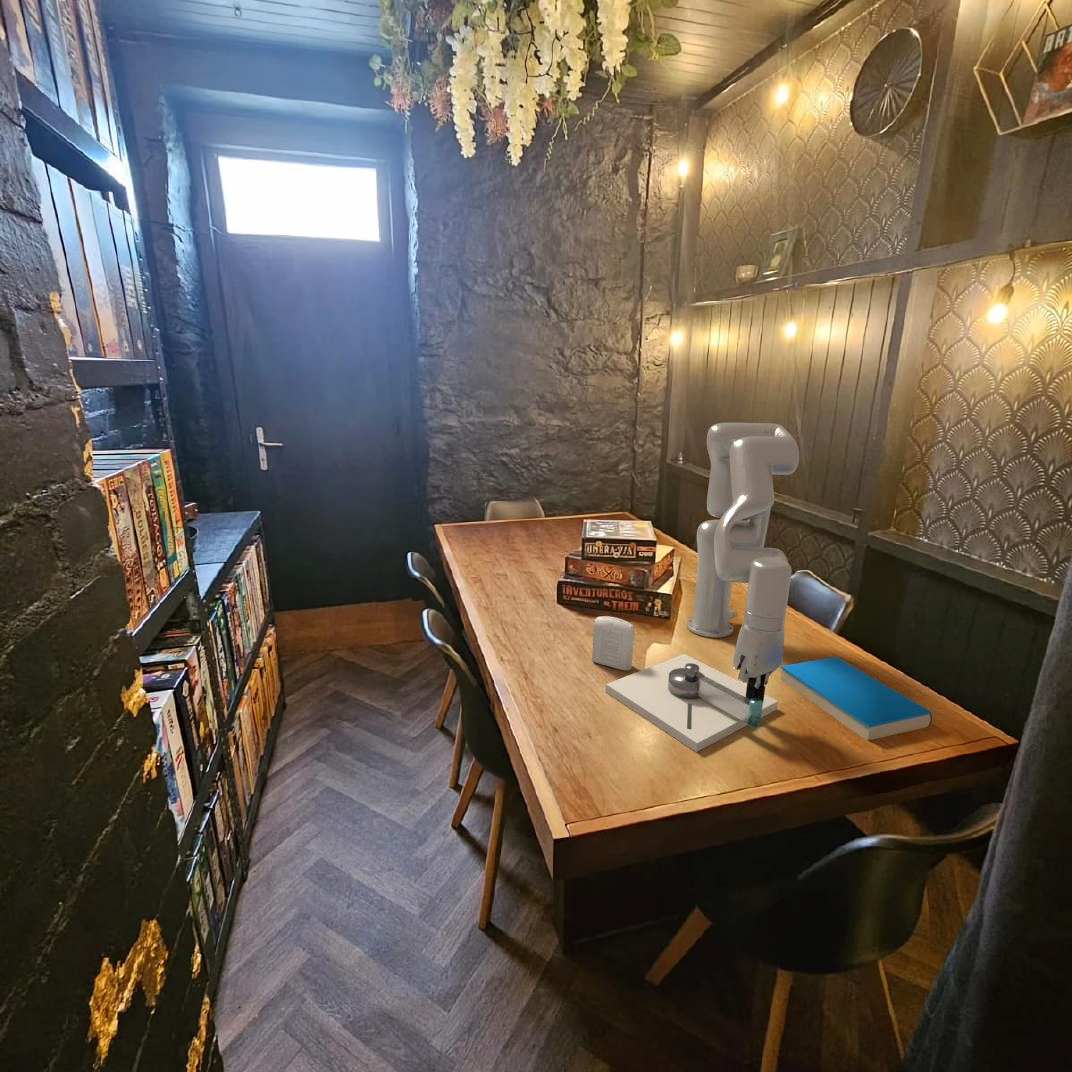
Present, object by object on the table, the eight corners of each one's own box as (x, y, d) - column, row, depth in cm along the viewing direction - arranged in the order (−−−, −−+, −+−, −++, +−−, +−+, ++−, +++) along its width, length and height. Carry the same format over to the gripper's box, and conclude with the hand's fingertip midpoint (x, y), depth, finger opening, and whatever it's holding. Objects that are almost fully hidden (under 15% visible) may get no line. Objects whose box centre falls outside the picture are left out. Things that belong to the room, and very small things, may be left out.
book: (870, 726, 112) (780, 665, 135) (866, 745, 114) (777, 681, 136) (934, 711, 117) (837, 654, 140) (930, 729, 119) (835, 670, 141)
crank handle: (660, 686, 128) (662, 662, 127) (684, 676, 133) (686, 652, 131) (745, 736, 111) (749, 709, 109) (770, 723, 115) (774, 696, 113)
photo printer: (634, 665, 142) (637, 619, 139) (628, 673, 139) (631, 625, 135) (596, 655, 147) (598, 610, 144) (589, 662, 143) (590, 616, 140)
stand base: (683, 661, 144) (684, 653, 144) (776, 709, 124) (778, 700, 123) (605, 692, 130) (606, 683, 130) (696, 752, 110) (697, 742, 109)
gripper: (772, 605, 121) (762, 683, 126) (723, 620, 114) (715, 702, 119) (804, 618, 115) (792, 699, 120) (755, 635, 108) (744, 720, 113)
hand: (754, 700), depth 119 cm, fingers closed
